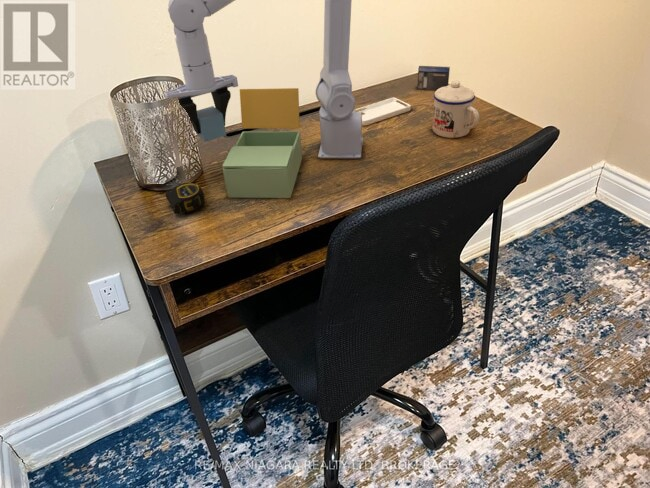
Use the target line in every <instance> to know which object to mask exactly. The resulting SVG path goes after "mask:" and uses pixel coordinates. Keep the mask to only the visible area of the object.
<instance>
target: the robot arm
mask: <svg viewBox="0 0 650 488" xmlns="http://www.w3.org/2000/svg"><path fill="white" fill-rule="evenodd" d="M235 1H236V0H168V6H167V7H168V8H167V11H168V14H169V18H170V20H171V22H172V24H173V32H174V35H175V43H176V48H177V49H176V50H177V53H178V58H179V62H180V66H181V70H182V74H183V78H184V79H183V80H184V82H185V83H184V84H182V85H179V86H176V88H172V89H170V90H168V91H163V96H164V100H165V99H166V98H169V99H170V98H171V99H174V98H176V97H178V100H179V103H180V105H181V106H182V107H183V108H184V109H185V110H186V112H187V113H188V115H189V117H190V120H189V122H190V121H191V122H190V123H191V126H192V128H193V131H194V132H195V134H196V133H197V134H200V133H201V131H200V125H199V122H198V117H197V110H198V109H197V108H198V107H197V104H196V103H195V102H194V99H192V98H195V97H199V96H203V95H207V94H211V97H212V100H213V104H214V107H215V108H216V109H217V110H219V111H220V112H221V113H222V114H223V120H224V125H225V126H226V118H227V117H226V116H227V111H228V105H229V102H230V99H231V96H232V95H231V94H232V93H231V91H230V90H229V88H238V87H239V82H238V76H236V75H234V74H229V75H223V76H215V72H214V67H213V62H212V57H211V51H210V46H209V41H208V35H207V34H206V32H205V27H204V21H205V18H209V17H212V16H213V15H214V14H216V13H218V12H219V11H221V10H223V9H224V8H225V7H227V6H229V5H231V4H232V3H233V2H235ZM323 13H324V16H323V19H324V20H323V61H322V65H323V66H322V68H321V69H320V72H319V80H318V83H317V85H316V87H315V97H316V99H317V100H318V102H319V103H320V108H319V110H318V117H319V118H318V119H319V130H320V131H319V132H320V133H319V134H320V147H319V150H318V155H317V157H318V159H362V152H363V151H362V150H363V146H364V137H363V125H362V115H363V113H357V112H358V111H354V110H355V109H356V99H355V96H354V94H353V83H352V80H351V76H350V73H349V60H350V59H349V58H350V41H351V40H350V39H351V20H352V18H351V17H352V0H324V12H323ZM174 104H175V102H173V104H172V105H174ZM180 105H179V106H180ZM181 106H180V107H181ZM353 111H354V112H353ZM197 134H196V135H197Z"/></svg>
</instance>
